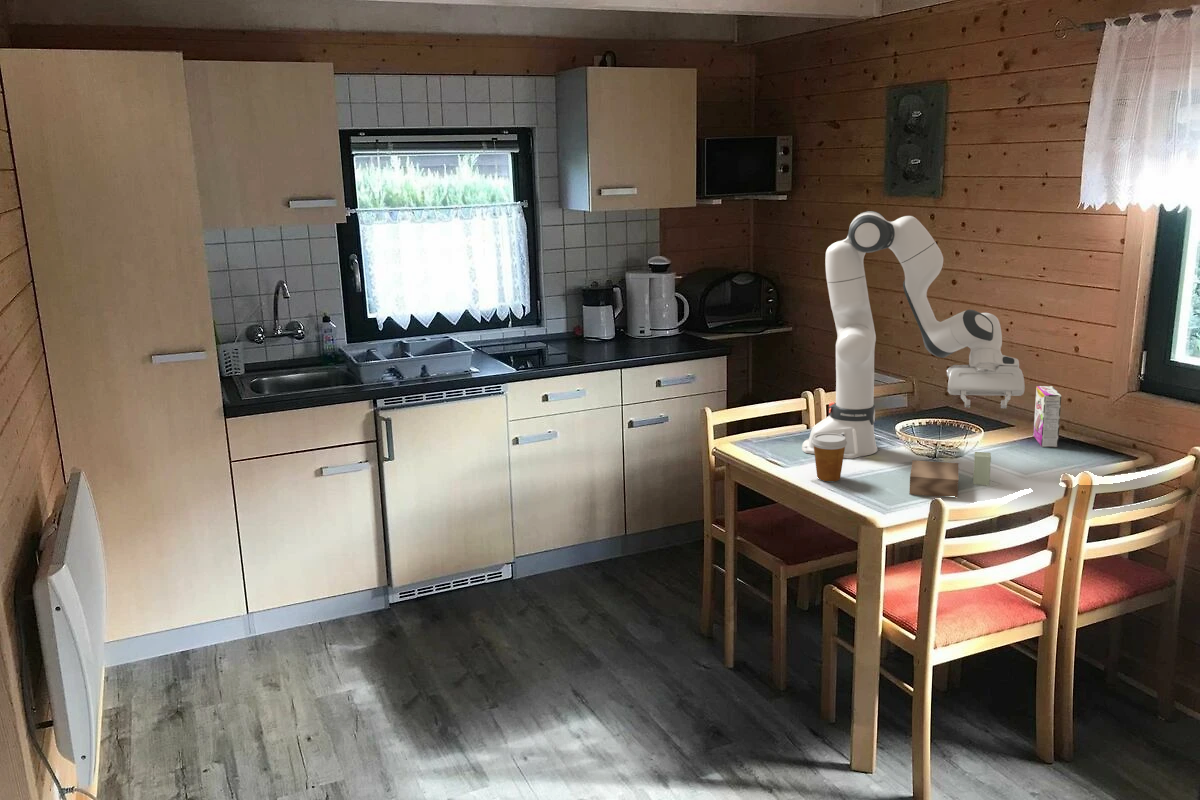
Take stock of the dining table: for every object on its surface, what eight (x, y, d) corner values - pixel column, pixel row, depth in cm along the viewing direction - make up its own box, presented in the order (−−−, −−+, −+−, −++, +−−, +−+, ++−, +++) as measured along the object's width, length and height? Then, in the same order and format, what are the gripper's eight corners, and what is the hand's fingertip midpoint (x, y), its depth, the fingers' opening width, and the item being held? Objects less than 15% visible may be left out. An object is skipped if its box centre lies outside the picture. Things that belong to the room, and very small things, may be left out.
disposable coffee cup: (809, 472, 272) (810, 432, 269) (843, 472, 271) (844, 432, 268) (813, 484, 263) (813, 442, 260) (848, 483, 262) (849, 442, 259)
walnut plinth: (909, 494, 253) (910, 476, 251) (911, 477, 265) (912, 460, 264) (957, 497, 248) (958, 479, 247) (957, 480, 261) (958, 463, 260)
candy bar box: (1031, 436, 296) (1035, 385, 292) (1049, 437, 295) (1053, 385, 291) (1040, 447, 286) (1044, 394, 282) (1058, 447, 285) (1062, 394, 281)
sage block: (973, 484, 258) (974, 456, 256) (973, 479, 262) (974, 451, 260) (989, 485, 257) (990, 457, 255) (988, 480, 260) (990, 452, 258)
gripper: (947, 359, 274) (946, 400, 267) (1024, 359, 266) (1025, 401, 260) (946, 370, 279) (946, 411, 272) (1023, 371, 271) (1024, 413, 265)
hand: (985, 406), depth 266 cm, fingers open, 8 cm apart
